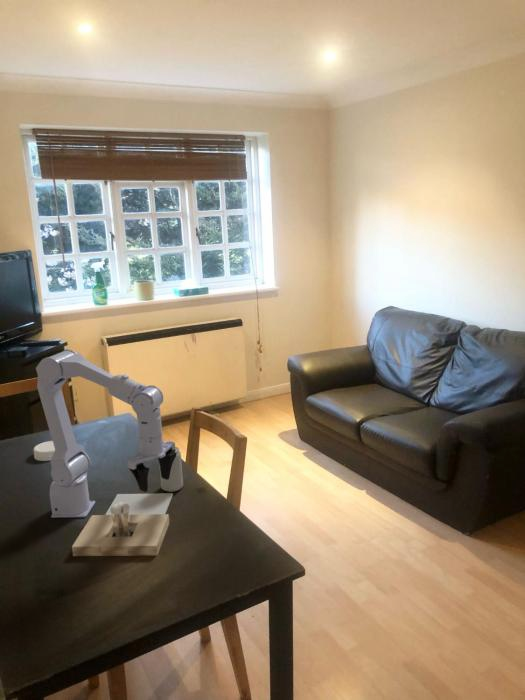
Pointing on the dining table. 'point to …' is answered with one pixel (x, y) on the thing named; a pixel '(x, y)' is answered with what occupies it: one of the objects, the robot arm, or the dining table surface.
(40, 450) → the white ridged disc
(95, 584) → the dining table surface
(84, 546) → the pocket holder
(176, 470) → the beverage can
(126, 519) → the milkshake
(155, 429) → the robot arm
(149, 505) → the grey mat
